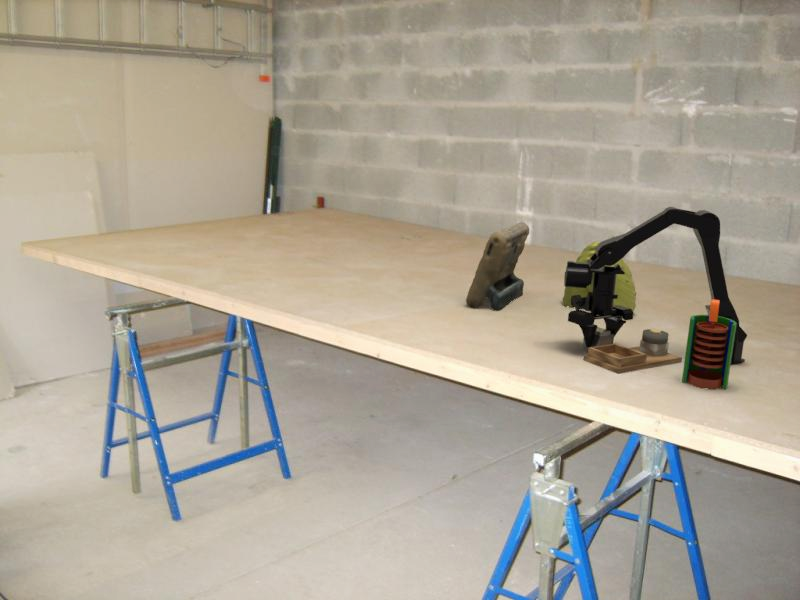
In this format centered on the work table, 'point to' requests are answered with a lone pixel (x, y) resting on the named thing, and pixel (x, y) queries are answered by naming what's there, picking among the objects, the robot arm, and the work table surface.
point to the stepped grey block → (601, 338)
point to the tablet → (499, 269)
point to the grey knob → (655, 336)
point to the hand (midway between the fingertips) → (597, 346)
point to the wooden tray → (630, 356)
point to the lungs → (622, 287)
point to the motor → (709, 349)
